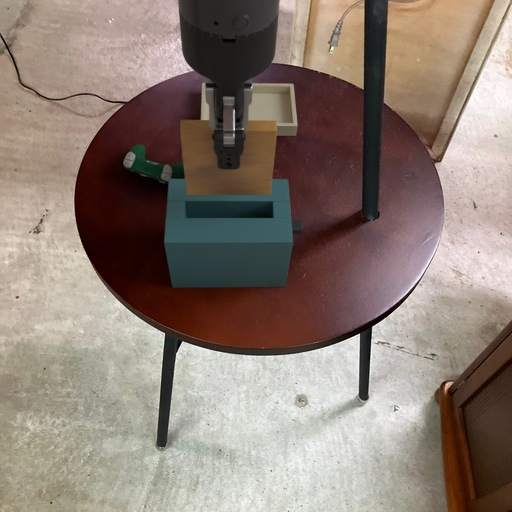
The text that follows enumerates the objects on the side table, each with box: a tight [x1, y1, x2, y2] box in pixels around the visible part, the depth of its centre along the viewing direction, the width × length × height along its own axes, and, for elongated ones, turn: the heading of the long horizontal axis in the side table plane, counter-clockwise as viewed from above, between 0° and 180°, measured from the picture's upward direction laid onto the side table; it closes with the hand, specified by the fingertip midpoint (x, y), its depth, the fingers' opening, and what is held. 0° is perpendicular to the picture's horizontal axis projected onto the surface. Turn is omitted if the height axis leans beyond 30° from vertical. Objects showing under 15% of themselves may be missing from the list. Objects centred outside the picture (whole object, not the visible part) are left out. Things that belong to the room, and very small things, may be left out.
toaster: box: [163, 178, 303, 289], centre depth 66 cm, size 16×9×10 cm, turn 92°
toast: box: [179, 119, 278, 195], centre depth 55 cm, size 9×1×10 cm, turn 92°
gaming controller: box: [122, 143, 185, 185], centre depth 76 cm, size 9×4×6 cm
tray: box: [200, 82, 298, 137], centre depth 84 cm, size 14×9×2 cm, turn 92°
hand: (228, 160), depth 55 cm, fingers closed on toast, 1 cm apart
